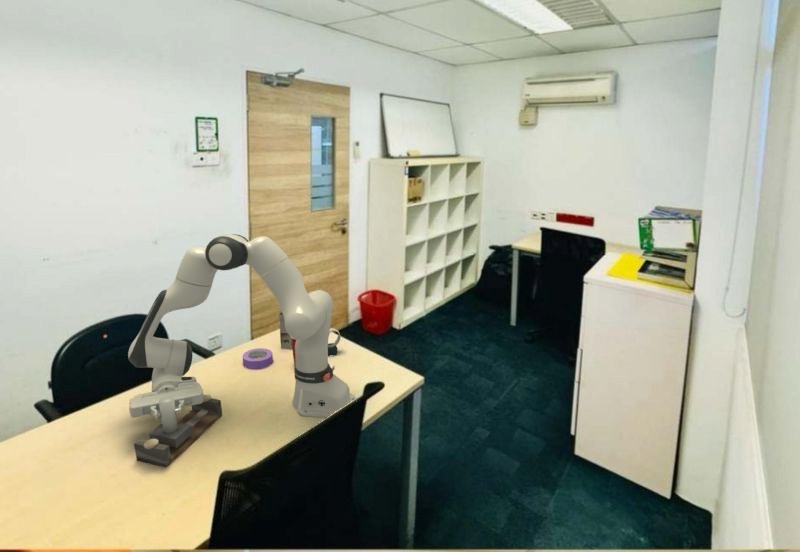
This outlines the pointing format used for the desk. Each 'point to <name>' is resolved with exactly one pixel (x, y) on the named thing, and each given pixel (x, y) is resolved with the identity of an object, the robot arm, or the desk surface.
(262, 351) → the masking tape
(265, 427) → the desk surface
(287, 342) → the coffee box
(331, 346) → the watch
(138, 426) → the desk surface
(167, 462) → the rail
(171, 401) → the carriage
